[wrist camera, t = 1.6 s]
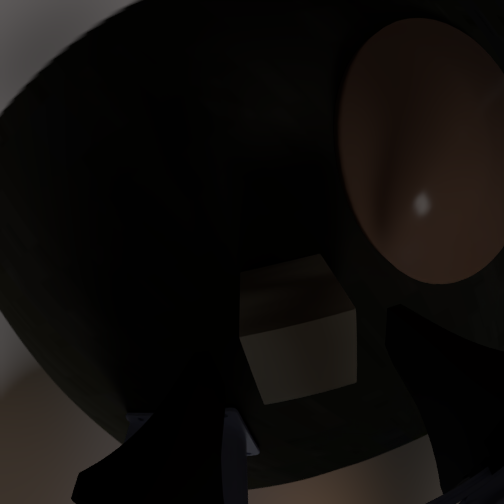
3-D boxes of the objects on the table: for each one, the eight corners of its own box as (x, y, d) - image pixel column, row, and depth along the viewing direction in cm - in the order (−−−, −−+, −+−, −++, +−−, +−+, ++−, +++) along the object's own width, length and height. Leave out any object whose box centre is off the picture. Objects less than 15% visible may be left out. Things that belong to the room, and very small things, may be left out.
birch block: (258, 334, 15) (264, 404, 10) (240, 272, 14) (239, 337, 9) (328, 317, 15) (356, 382, 10) (319, 253, 13) (355, 308, 9)
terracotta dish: (353, 304, 14) (360, 316, 13) (297, 18, 9) (301, 8, 8) (514, 244, 13) (524, 250, 12) (495, 46, 8) (506, 44, 7)
